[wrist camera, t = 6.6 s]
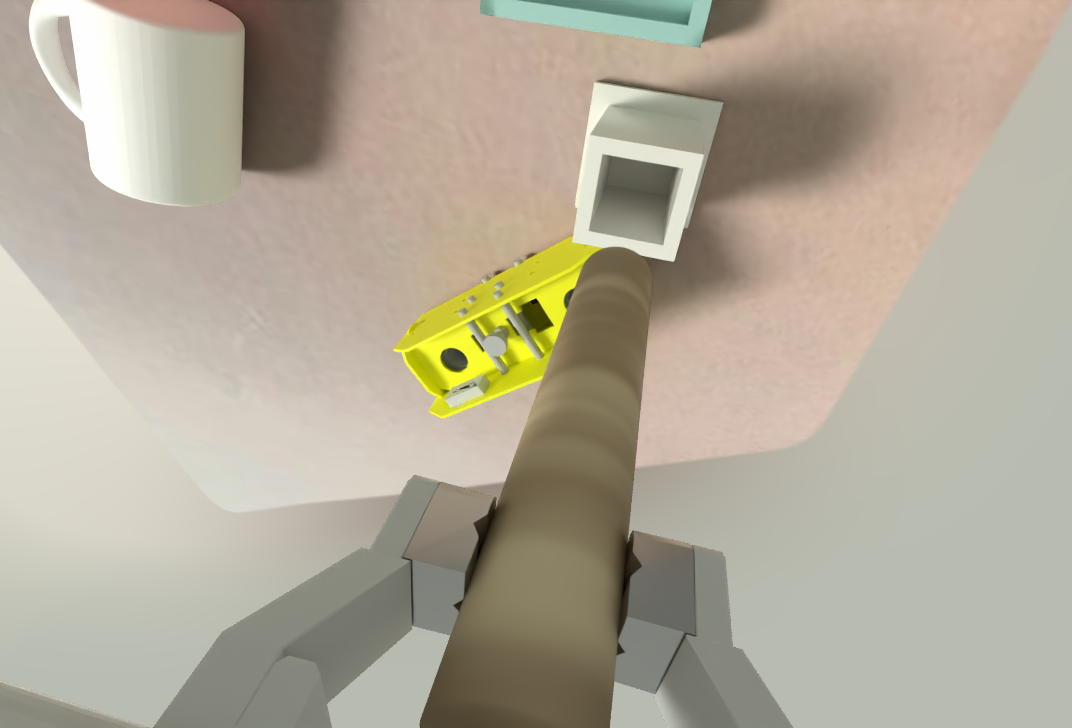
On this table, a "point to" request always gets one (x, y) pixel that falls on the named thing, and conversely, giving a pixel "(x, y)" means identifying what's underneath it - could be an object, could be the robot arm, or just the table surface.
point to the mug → (152, 93)
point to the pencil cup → (642, 168)
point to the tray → (614, 16)
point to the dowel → (558, 528)
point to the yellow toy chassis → (494, 330)
